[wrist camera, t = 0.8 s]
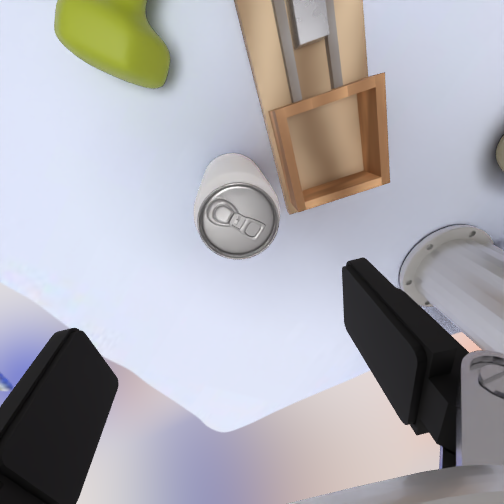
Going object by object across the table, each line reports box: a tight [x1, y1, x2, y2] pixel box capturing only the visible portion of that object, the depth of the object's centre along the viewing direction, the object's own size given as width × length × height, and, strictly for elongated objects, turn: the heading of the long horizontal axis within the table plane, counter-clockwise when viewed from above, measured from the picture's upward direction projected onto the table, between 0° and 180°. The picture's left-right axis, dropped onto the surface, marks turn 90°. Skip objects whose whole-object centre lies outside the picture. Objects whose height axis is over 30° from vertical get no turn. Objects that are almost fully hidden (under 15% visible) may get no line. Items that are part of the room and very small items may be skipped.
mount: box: [234, 0, 390, 214], centre depth 23 cm, size 10×24×5 cm, turn 17°
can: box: [194, 153, 280, 259], centre depth 23 cm, size 6×6×12 cm
